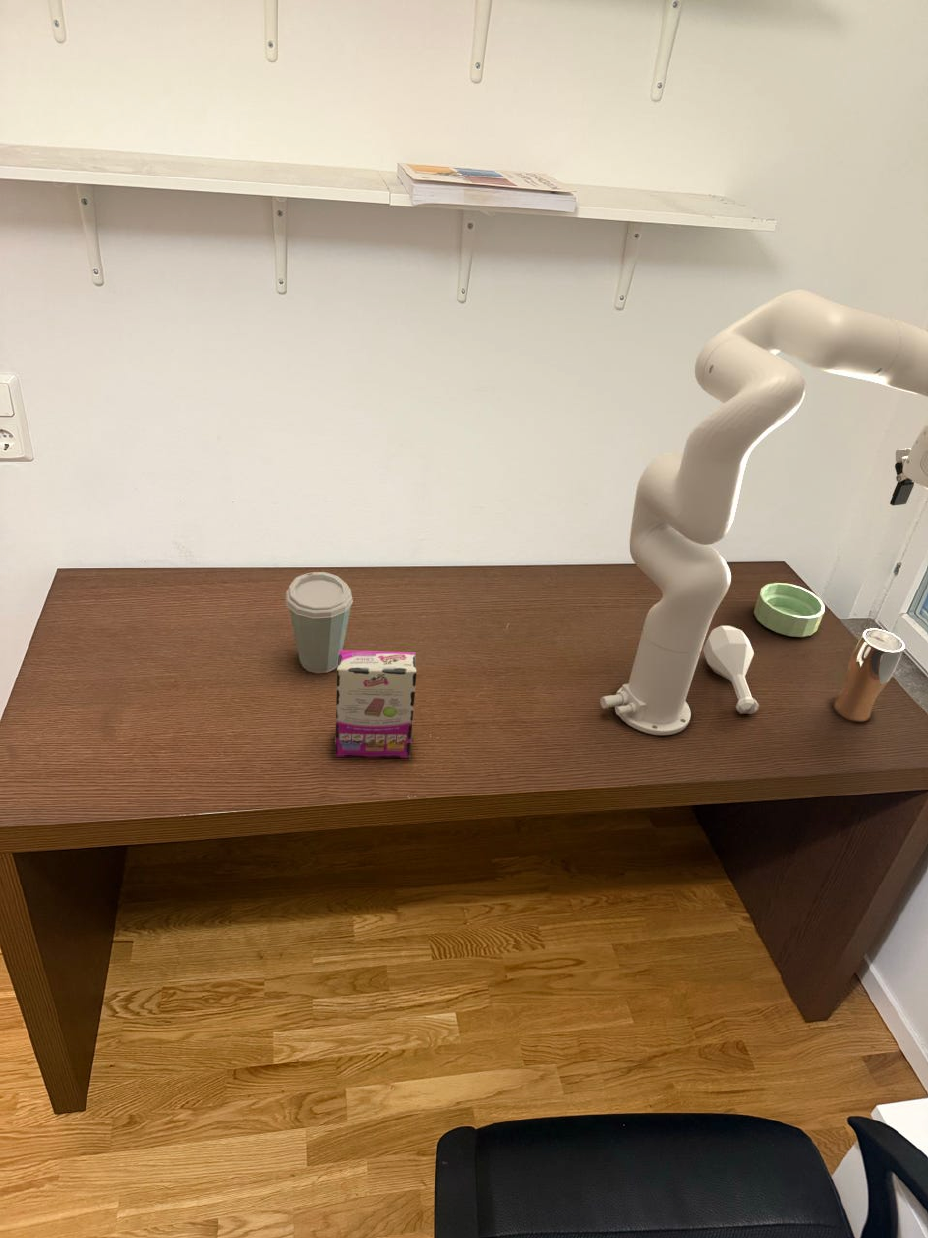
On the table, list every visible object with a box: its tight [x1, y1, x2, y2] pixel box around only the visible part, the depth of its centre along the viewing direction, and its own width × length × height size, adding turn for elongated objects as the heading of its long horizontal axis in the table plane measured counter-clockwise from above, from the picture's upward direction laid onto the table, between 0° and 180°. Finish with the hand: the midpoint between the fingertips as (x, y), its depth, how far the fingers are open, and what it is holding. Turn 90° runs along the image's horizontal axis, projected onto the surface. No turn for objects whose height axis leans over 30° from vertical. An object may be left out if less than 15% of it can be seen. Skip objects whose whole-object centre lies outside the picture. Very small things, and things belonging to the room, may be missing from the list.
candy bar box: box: [334, 649, 417, 759], centre depth 132 cm, size 11×5×16 cm, turn 95°
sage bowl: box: [753, 582, 826, 638], centre depth 177 cm, size 12×12×5 cm
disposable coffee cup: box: [285, 571, 354, 675], centre depth 147 cm, size 11×11×15 cm
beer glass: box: [833, 628, 905, 723], centre depth 153 cm, size 7×7×15 cm
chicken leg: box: [702, 625, 760, 715], centre depth 157 cm, size 8×18×8 cm, turn 5°
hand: (919, 517), depth 151 cm, fingers open, 9 cm apart
